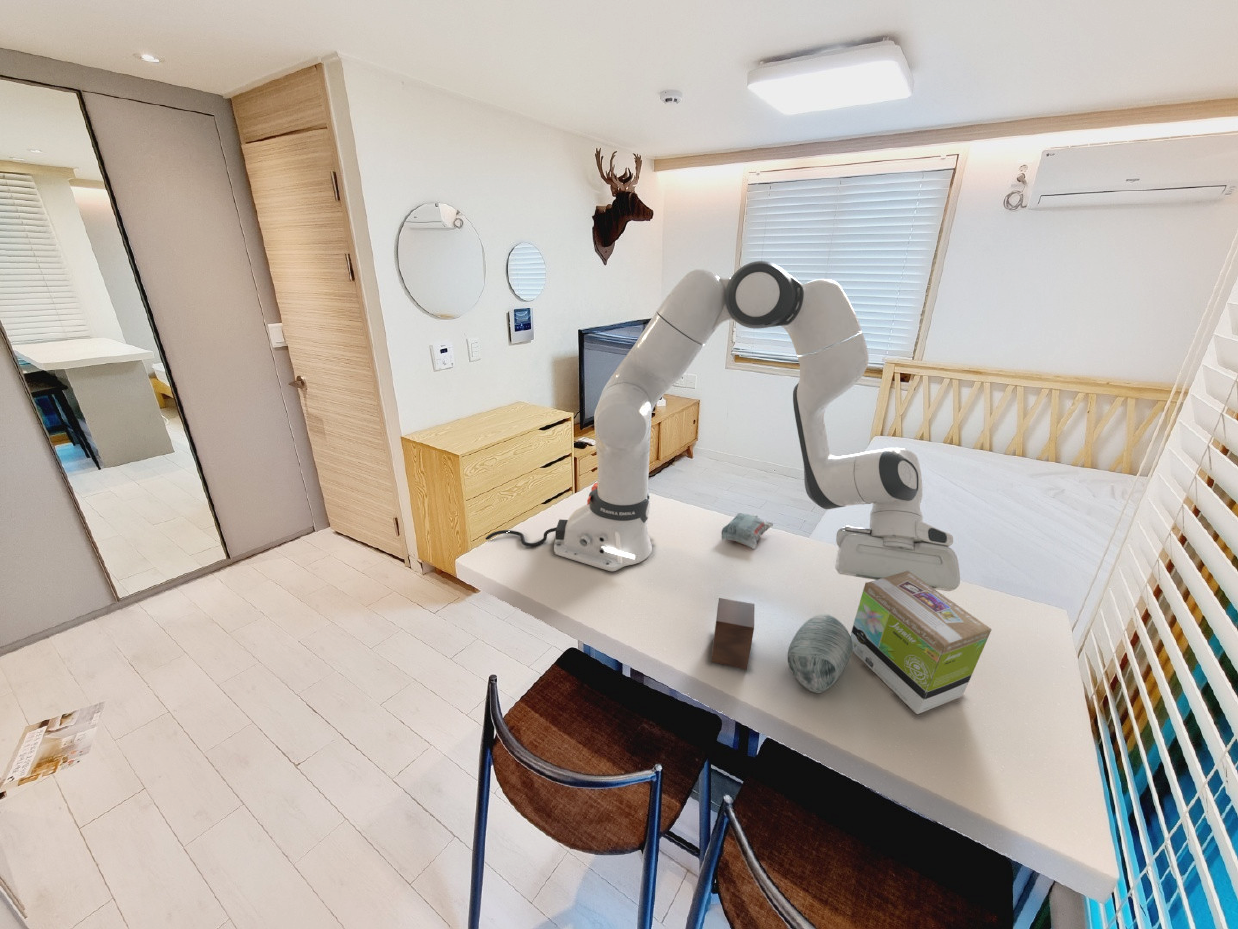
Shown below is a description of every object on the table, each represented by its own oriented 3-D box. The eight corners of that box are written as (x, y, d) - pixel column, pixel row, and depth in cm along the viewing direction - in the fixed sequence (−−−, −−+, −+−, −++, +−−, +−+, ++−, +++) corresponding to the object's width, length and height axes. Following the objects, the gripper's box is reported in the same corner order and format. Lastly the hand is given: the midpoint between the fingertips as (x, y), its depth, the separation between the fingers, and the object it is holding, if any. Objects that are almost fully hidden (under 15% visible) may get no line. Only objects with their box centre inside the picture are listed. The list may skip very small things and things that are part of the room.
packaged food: (771, 533, 123) (774, 515, 120) (753, 556, 114) (756, 537, 112) (737, 522, 127) (739, 505, 125) (718, 543, 118) (719, 525, 116)
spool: (841, 703, 74) (828, 635, 75) (781, 694, 81) (769, 632, 81) (869, 670, 84) (857, 610, 85) (813, 664, 91) (803, 609, 91)
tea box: (844, 648, 89) (863, 580, 83) (887, 634, 92) (908, 567, 86) (917, 718, 76) (945, 644, 70) (964, 699, 79) (995, 626, 73)
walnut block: (711, 662, 85) (716, 621, 81) (713, 637, 90) (718, 597, 87) (747, 669, 84) (754, 628, 80) (747, 644, 89) (754, 603, 85)
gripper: (841, 520, 94) (837, 594, 89) (963, 537, 89) (965, 616, 85) (833, 528, 100) (829, 598, 95) (947, 544, 95) (949, 619, 91)
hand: (894, 607), depth 90 cm, fingers closed
